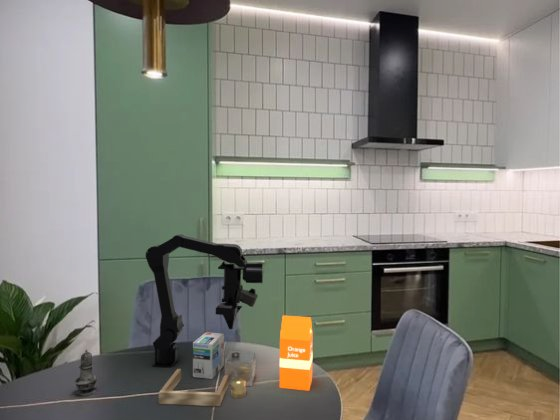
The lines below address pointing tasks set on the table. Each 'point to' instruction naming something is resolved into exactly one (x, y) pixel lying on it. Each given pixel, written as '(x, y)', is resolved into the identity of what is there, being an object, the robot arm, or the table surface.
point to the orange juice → (296, 353)
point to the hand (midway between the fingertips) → (230, 329)
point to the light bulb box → (208, 355)
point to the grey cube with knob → (241, 366)
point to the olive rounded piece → (238, 387)
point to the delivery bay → (191, 393)
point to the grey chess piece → (86, 376)
